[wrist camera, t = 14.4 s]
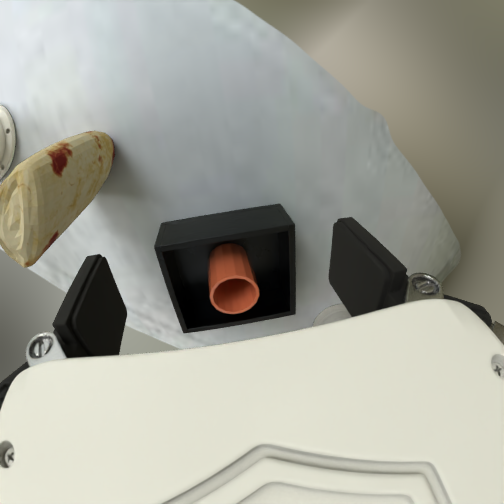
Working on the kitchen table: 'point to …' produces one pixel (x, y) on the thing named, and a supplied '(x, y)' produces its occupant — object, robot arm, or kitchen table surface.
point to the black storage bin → (221, 232)
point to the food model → (51, 193)
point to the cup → (231, 279)
